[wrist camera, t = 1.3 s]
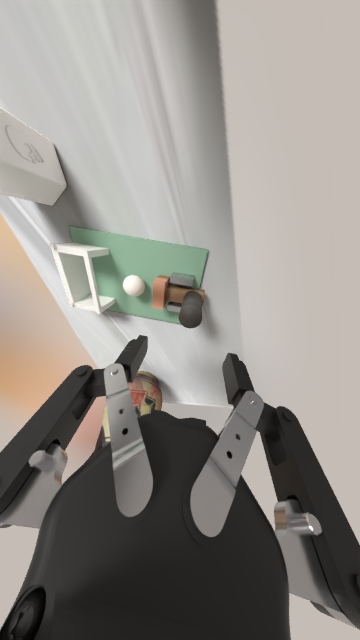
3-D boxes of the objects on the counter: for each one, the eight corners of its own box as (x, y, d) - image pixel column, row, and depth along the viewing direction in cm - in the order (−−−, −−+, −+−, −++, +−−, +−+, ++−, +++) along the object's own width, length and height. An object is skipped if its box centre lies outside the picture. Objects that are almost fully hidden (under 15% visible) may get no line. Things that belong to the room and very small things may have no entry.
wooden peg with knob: (159, 274, 26) (140, 292, 17) (206, 283, 25) (208, 305, 17) (158, 298, 28) (141, 323, 20) (200, 306, 28) (200, 335, 20)
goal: (75, 242, 25) (45, 243, 20) (108, 248, 25) (86, 251, 20) (88, 297, 31) (68, 307, 26) (115, 302, 31) (100, 314, 26)
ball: (128, 271, 26) (117, 276, 23) (147, 274, 26) (140, 280, 23) (129, 290, 29) (119, 297, 25) (147, 293, 28) (140, 301, 25)
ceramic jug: (174, 374, 42) (135, 577, 17) (159, 396, 50) (117, 556, 25) (122, 354, 41) (-7, 548, 15) (115, 380, 49) (23, 536, 23)
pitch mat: (70, 226, 24) (68, 226, 24) (207, 249, 23) (208, 249, 23) (90, 305, 33) (88, 306, 32) (191, 324, 32) (190, 325, 31)
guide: (173, 271, 25) (170, 275, 23) (194, 275, 25) (193, 279, 23) (169, 304, 29) (166, 310, 26) (187, 307, 29) (186, 314, 26)
